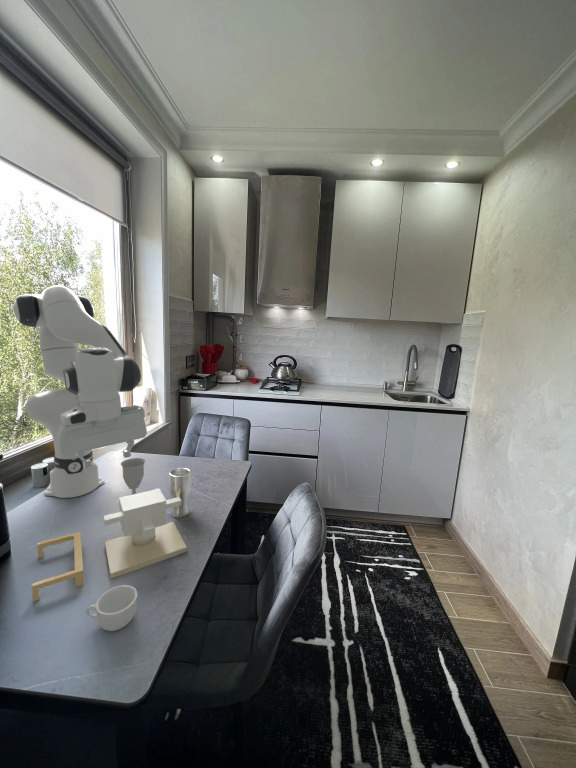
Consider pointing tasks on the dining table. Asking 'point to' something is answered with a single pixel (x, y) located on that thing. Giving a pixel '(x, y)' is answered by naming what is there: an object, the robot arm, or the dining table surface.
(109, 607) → the teacup
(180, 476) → the beer glass
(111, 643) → the dining table surface
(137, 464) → the chalice
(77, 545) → the tan open angular frame
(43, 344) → the robot arm
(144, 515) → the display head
